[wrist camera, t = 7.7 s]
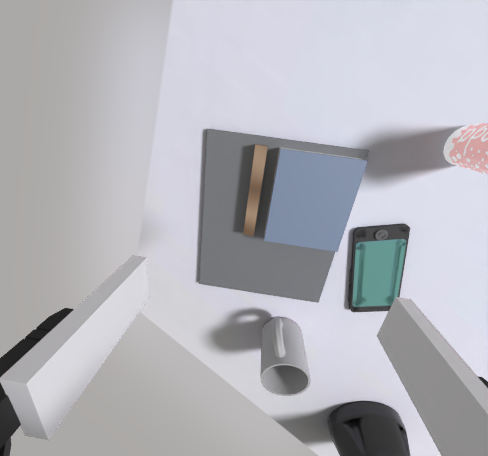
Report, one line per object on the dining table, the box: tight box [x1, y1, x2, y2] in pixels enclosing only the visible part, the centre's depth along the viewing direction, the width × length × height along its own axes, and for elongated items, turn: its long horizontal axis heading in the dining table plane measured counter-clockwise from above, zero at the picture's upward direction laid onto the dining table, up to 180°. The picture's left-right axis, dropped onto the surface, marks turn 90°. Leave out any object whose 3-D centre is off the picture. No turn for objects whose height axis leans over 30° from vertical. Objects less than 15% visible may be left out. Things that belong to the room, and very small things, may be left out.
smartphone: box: [348, 224, 410, 312], centre depth 35 cm, size 7×1×15 cm
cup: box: [261, 317, 310, 396], centre depth 37 cm, size 7×10×9 cm
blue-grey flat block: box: [264, 147, 368, 252], centre depth 30 cm, size 12×2×10 cm
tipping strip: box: [243, 144, 268, 236], centre depth 30 cm, size 12×2×2 cm, turn 173°
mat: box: [199, 129, 368, 302], centre depth 33 cm, size 24×20×1 cm
